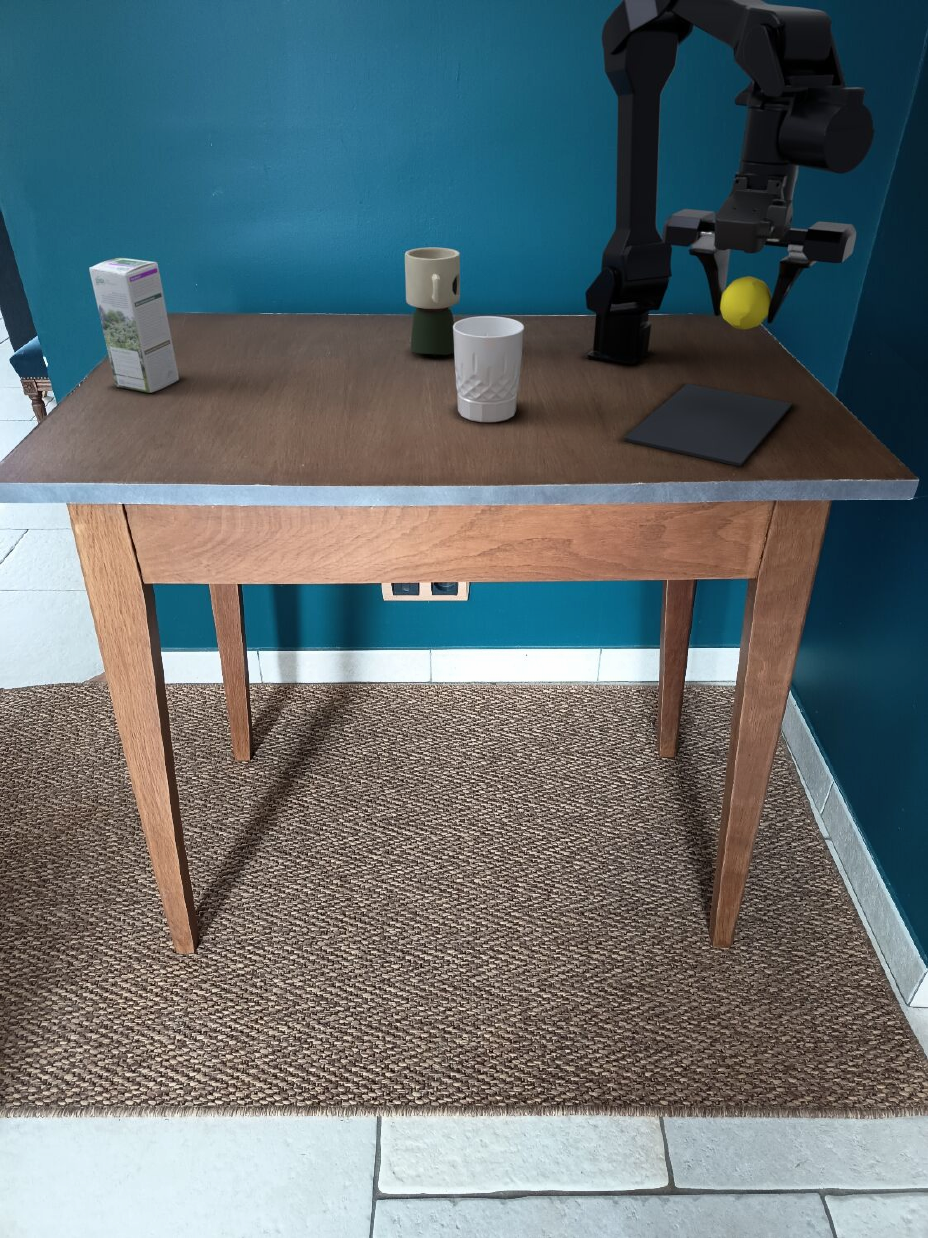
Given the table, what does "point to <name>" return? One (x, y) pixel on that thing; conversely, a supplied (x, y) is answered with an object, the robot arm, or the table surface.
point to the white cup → (487, 367)
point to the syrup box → (135, 323)
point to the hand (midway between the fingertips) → (743, 318)
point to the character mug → (432, 297)
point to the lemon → (746, 302)
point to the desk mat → (710, 424)
